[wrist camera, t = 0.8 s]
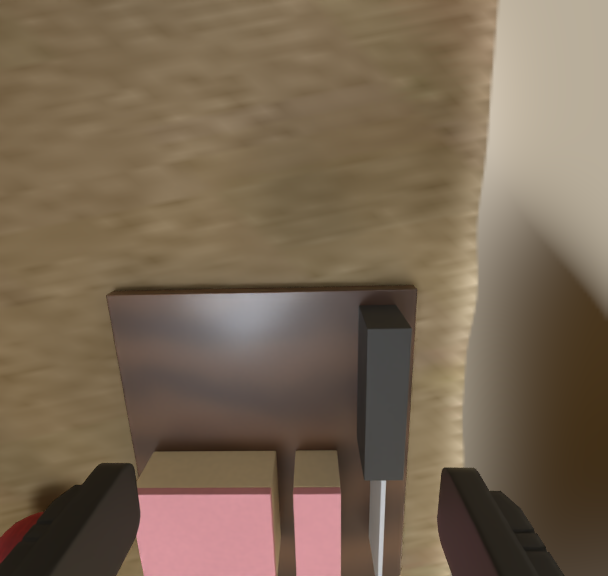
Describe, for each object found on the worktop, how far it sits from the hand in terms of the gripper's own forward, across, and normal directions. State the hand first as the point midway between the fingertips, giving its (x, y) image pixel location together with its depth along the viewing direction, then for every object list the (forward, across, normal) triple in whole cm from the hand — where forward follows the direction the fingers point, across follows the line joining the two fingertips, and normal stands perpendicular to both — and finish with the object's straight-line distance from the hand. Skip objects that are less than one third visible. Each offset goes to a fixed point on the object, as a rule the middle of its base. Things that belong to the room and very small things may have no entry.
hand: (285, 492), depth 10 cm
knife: (+15, -5, +9) cm, 18 cm away
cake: (+15, +6, +15) cm, 22 cm away
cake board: (+16, +2, +11) cm, 20 cm away
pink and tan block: (+15, -1, +14) cm, 21 cm away
